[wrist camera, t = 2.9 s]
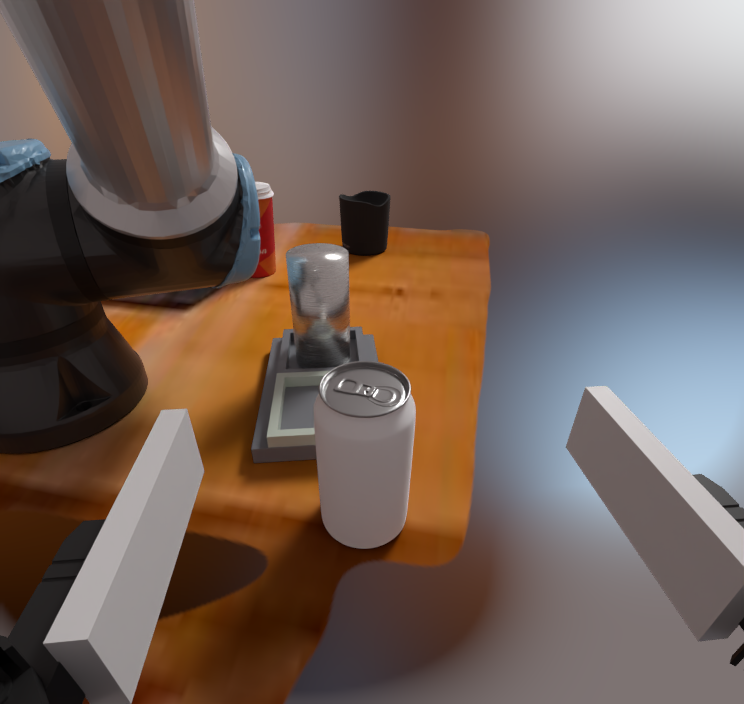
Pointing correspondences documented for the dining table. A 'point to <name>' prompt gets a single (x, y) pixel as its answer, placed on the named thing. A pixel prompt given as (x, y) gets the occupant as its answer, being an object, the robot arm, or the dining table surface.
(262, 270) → the paper cup
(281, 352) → the pocket board
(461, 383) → the dining table surface
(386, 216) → the pen holder
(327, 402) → the can
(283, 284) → the dining table surface
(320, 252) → the seated cylinder
